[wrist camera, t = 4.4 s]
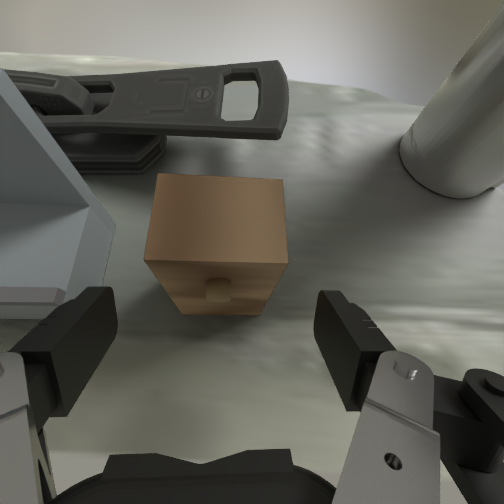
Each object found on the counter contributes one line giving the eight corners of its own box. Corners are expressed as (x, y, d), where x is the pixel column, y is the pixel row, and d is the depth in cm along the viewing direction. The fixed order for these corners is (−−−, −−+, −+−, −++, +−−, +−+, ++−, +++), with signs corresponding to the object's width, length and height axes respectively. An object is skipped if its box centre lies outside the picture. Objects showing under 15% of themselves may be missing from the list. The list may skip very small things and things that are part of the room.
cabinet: (258, 263, 21) (282, 179, 12) (259, 326, 19) (289, 283, 10) (187, 261, 21) (157, 173, 12) (181, 326, 19) (139, 280, 10)
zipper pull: (291, 137, 18) (-120, 98, 16) (275, 197, 24) (-27, 172, 22) (289, 54, 22) (-47, 15, 20) (275, 123, 28) (15, 98, 26)
